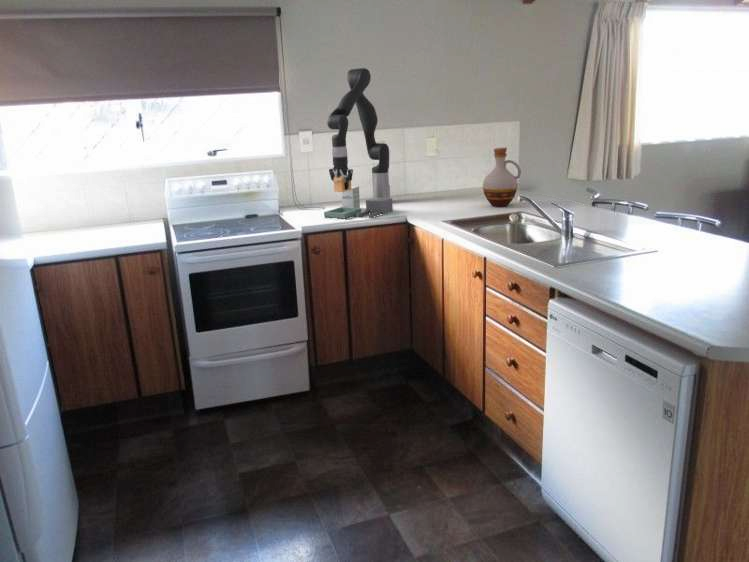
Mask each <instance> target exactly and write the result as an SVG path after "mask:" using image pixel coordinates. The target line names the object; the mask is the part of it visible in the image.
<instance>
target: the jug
mask: <svg viewBox="0 0 749 562" xmlns="http://www.w3.org/2000/svg"><path fill="white" fill-rule="evenodd" d="M507 149H508V148H507V147H496V148H493V151H494V153H493V156H494V159H495V167H494V168H493V169H492V171H490V172H489V173H488V174H487V175H486V176H485V177H484V179H483V182H482V190H483V195H484V196H485V199H486V200H487V201H488V203H489V204H490V205H491V206H492V207H494V208H504V207H508V206H509V205H510V203H511V202H512V201H513V200H514V198H515V196H516V193H517V191H518V180H517V179H520V177H521V175H522V169H521V167H520V165H519V164H518V163H517V162H516V161H514V160H511V159H507V160H506V157H507V155H508V153H507ZM509 163H510V164H512V165H514V166H515V167H516V169H517V175H514V174H512V173H511V172H510V171H509V170H508V169H507V164H509Z"/></svg>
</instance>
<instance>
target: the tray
mask: <svg viewBox="0 0 749 562" xmlns="http://www.w3.org/2000/svg"><path fill="white" fill-rule="evenodd" d="M360 212H363V211H362V207H360V208H350V207H342V206H340V207H336V208H333V209H331V210H327V211H326V210H325V211H324V212H323V216H324V217H325V218H324V219H332V218H337V219H336V220H344V219H345V220H347V218H348V219H351V218H353V216H354V217H356V214H357V213H360ZM350 217H351V218H350Z"/></svg>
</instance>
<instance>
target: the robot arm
mask: <svg viewBox="0 0 749 562" xmlns="http://www.w3.org/2000/svg"><path fill="white" fill-rule="evenodd" d="M346 79H347V83H348V85H349V91H348V92H346V93H345V94H344V95H343V97H342V98H341V99H340V101H339V103H338V105H337V107H336V108H335V109H334V110H333V111H332V112H331V113H330V114H329V115H328V117H327V121H326V124H327V127H328V128H329V129H330V130H338V133H336V134H333V135H332V136H331V144H332V145H331V146H332V148H331V149H332V150H331V151H332V152H331V153H332V155H331V156H332V165H333V168H329V169H328V172H329V176H330V180H331V181H334V178H337V177H340V176H342V178H344V185H345V190H347V189H348V188H349V181H351V182H352V180H353V174H354V173H353V172H354V168H353V169H352V168H349V167H348V163H349V162H348V161H349V160H348V147H347V139H346V138H347V133H348V129H349V119H348V116H350V114H351V113H352V110H353V108H354V106H356V109H357V113H358V117H359V121H360V124H361V128H362V130H363V135H364V139H365V145H366V150H367V155H368V157H369V158H370V160H373V161H378V164H377V165H376V166H373V167H372V168H371V176H372V177H371V178H372V194H373V196H372V198H376V197H380V198H391V186H390V179H389V178H390V176H389V175H390V174H389V172H390V171H389V168H390V148H389V146H388V144H387V143H383V142H376V138H375V133H376V127H377V125H378V121H379V120H378V115H377V111H376V108H375V106H374V105H373V103H372V102H370V100H369V99H368V98H367V97H366V96H365V94H364V91H365V90H366V88H368V86H369V85H370V82H371V80H372V79H371V72H370V70H369V69H367V68H365V67H362V68H361V67H360V68H354V69H353V68H352V69H350V70H348V72H347V78H346Z"/></svg>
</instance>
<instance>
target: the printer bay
mask: <svg viewBox="0 0 749 562" xmlns="http://www.w3.org/2000/svg"><path fill="white" fill-rule="evenodd" d="M393 207H394V206H393V197H392V198H391V197H390V198H380V197H376V198H373V197H372V198H370V199H366V200H365V210H363V211H362V212H360V213H357V214H356V216H355V217H356V218H357V217H359V218H361V217H360V216H362V217H364V216H363V215H365V216H367V215H366V214H368V219H369V218H371V219H373V218H372V217H374V216H377V215H380V214H384V215H386V214H385V213H387V214H389V213H388V212H390V213H392V212H391V211H393V209H394V208H393ZM369 213H370V214H369ZM380 216H381V215H380ZM377 217H378V216H377ZM374 218H375V217H374Z"/></svg>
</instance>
